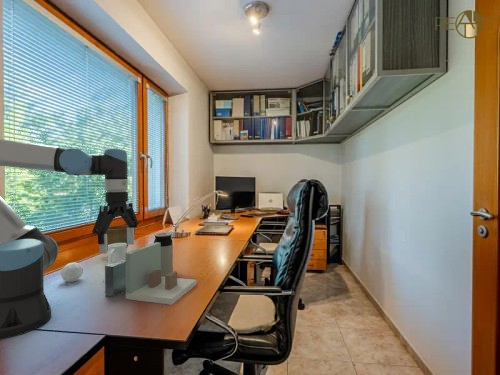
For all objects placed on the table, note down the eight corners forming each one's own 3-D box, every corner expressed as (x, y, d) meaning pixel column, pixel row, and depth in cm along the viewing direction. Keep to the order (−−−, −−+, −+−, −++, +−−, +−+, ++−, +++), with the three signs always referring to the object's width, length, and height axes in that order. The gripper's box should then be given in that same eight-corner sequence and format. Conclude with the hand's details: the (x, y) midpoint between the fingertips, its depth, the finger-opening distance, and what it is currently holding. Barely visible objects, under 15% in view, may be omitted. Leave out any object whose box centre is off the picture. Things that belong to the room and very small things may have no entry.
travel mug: (153, 277, 113) (152, 236, 113) (154, 272, 121) (154, 232, 121) (172, 276, 115) (172, 235, 115) (172, 270, 123) (172, 231, 123)
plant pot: (131, 257, 145) (131, 228, 145) (100, 260, 140) (100, 230, 140) (132, 251, 159) (132, 224, 159) (104, 253, 154) (104, 226, 154)
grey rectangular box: (113, 297, 94) (113, 266, 94) (105, 296, 95) (104, 265, 95) (129, 288, 102) (128, 260, 102) (121, 287, 103) (121, 259, 102)
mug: (119, 270, 124) (119, 248, 124) (101, 270, 123) (100, 248, 123) (129, 262, 136) (129, 242, 136) (113, 262, 135) (112, 242, 135)
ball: (68, 287, 111) (64, 269, 114) (88, 278, 113) (84, 261, 116) (58, 284, 104) (54, 265, 107) (80, 274, 106) (76, 256, 110)
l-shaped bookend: (171, 304, 88) (171, 256, 88) (125, 298, 93) (125, 253, 92) (196, 284, 105) (195, 244, 105) (156, 280, 110) (156, 242, 110)
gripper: (97, 192, 85) (99, 258, 85) (146, 190, 109) (147, 241, 109) (78, 192, 87) (80, 256, 87) (131, 190, 111) (132, 240, 111)
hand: (118, 248), depth 98 cm, fingers open, 13 cm apart
